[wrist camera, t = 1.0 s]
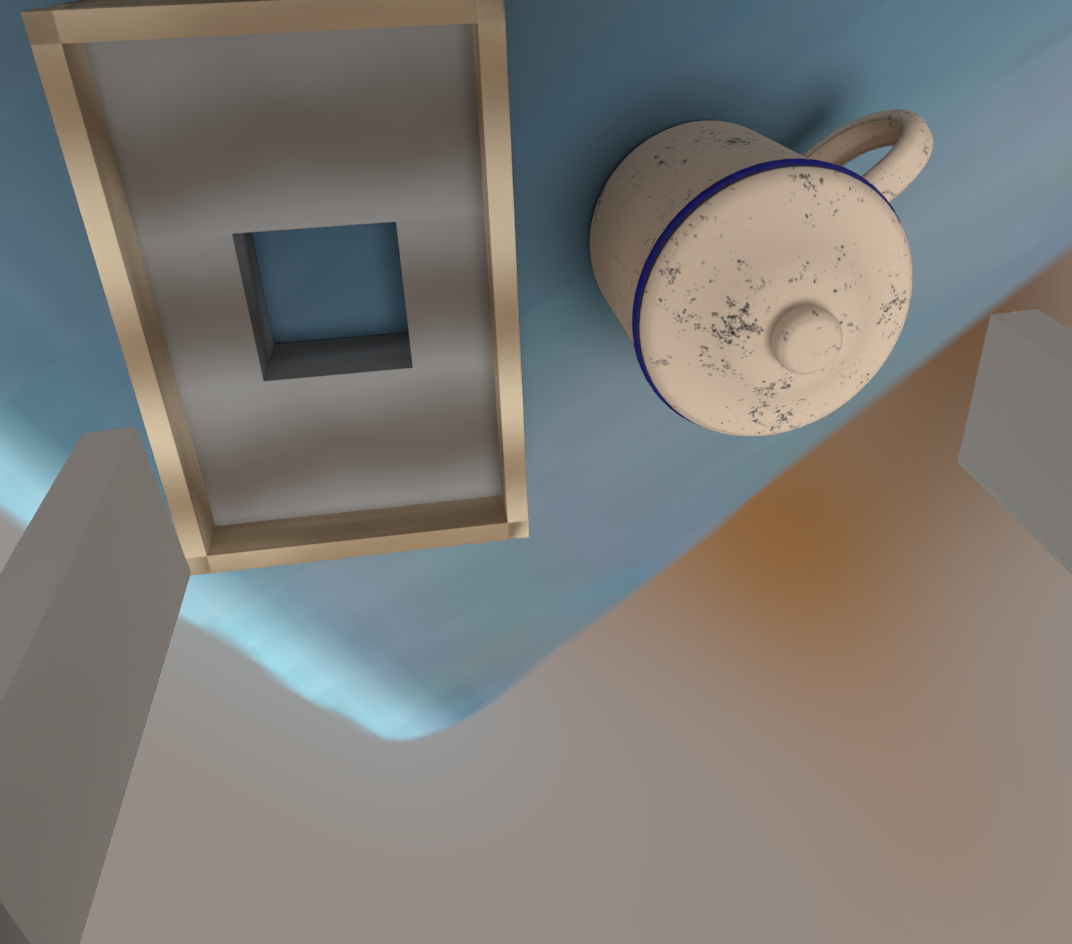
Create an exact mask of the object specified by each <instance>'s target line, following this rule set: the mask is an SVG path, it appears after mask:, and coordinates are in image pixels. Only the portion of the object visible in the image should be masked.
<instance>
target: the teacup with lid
mask: <svg viewBox="0 0 1072 944" xmlns="http://www.w3.org/2000/svg"><path fill="white" fill-rule="evenodd" d="M893 145H894V147H893V148H892V149H891V150H890V151H889V153H888V154H887V155H886V156H885V157H884V158H883V159H881V160H880V161H879V162H878V163H877V164H876V165H875V166H874V167H872V168H871V169H870V170H869V171H868V172H866V173H865V174H864V175H863V176H862V177H861V176H860V175H858V174H856V173H855V172H853V171H850V170H848V169H846V168H844V167H842V166H844V165H845V164H847V163H848V162H850V161H851V160H853V159H855V158H856V157H858V156H860V155H862V154H865V153H867V152H869V151H872V150H875V149H878V148H882V147H886V146H893ZM932 149H933V136H932V133H931V131H930V130H929V128H928V126H927V124H926V123H925V121H924V120H923V118H921V117H920V116H919V115H918V114H916V113H914V112H911V111H908V110H887V111H881V112H877V113H873V114H869V115H866V116H864V117H861V118H858V119H856V120H854V121H851V122H849V123H847V124H845V125H844V126H842V127H840V128H838V129H837V130H835V131H834V132H832V133H831V134H829V135H828V136H826V137H825V138H824V139H822V140H821V141H820V142H818V143H817V144H816V145H814V146H813V147H812V148H811V149H810V150H808V151H807V152H806V153H805V154H804V155H800V154H798V153H796V152H794V151H792V150H790V149H788V148H786V147H784V146H782V145H780V144H779V143H777V142H775V141H773V140H771V139H769V138H767V137H765V136H763V135H761V134H759V133H757V132H755V131H753V130H751V129H749V128H747V127H744V126H741V125H738V124H734V123H729V122H724V121H696V122H690V123H685V124H681V125H678V126H675V127H672V128H669V129H667V130H665V131H662V132H660V133H658V134H656V135H655V136H653V137H651V138H650V139H648V140H647V141H645V142H644V143H642V144H641V145H639V146H638V147H637V148H636V149H635V150H634V151H632V152H631V153H630V154H629V155H628V156H627V157H626V158H625V159H624V160H623V161H622V162H621V164H620V165H619V166H618V167H617V168H616V170H615V171H614V172H613V174H612V175H611V177H610V178H609V180H608V181H607V183H606V185H605V187H604V189H603V191H602V193H601V195H600V197H599V200H598V202H597V205H596V208H595V211H594V215H593V219H592V223H591V230H590V257H591V264H592V268H593V272H594V276H595V279H596V281H597V284H598V286H599V288H600V290H601V292H602V294H603V296H604V297H605V299H606V301H607V302H608V304H609V306H610V307H611V309H612V310H613V312H614V314H615V315H616V317H617V319H618V320H619V322H620V323H621V325H622V327H623V328H624V330H625V331H626V333H627V335H628V336H629V338H630V340H631V341H632V343H633V344H634V347H635V351H636V355H637V359H638V362H639V364H640V367H641V370H642V372H643V374H644V376H645V378H646V380H647V381H648V383H649V384H650V386H651V387H652V389H653V390H654V392H655V393H656V394H657V395H658V397H659V398H660V399H661V400H662V401H663V402H664V403H665V404H666V405H667V406H668V407H669V408H670V409H672V410H673V411H674V412H676V413H677V414H678V415H680V416H681V417H683V418H685V419H686V420H688V421H690V422H692V423H694V424H697V425H699V426H701V427H704V428H706V429H709V430H712V431H715V432H719V433H724V434H728V435H737V436H764V435H771V434H778V433H782V432H786V431H791V430H794V429H797V428H800V427H803V426H805V425H808V424H810V423H812V422H815V421H817V420H819V419H821V418H822V417H824V416H826V415H828V414H830V413H831V412H833V411H834V410H836V409H838V408H839V407H840V406H842V405H843V404H845V403H846V402H847V401H849V400H850V399H851V398H852V397H853V396H854V395H856V394H857V393H858V392H859V391H860V390H861V389H862V388H863V387H864V386H865V385H866V384H867V383H868V382H869V381H870V380H871V379H872V377H873V376H874V375H875V374H876V373H877V371H878V370H879V369H880V368H881V366H882V365H883V364H884V362H885V361H886V359H887V357H888V356H889V354H890V353H891V351H892V349H893V347H894V345H895V344H896V342H897V340H898V337H899V335H900V333H901V330H902V328H903V325H904V322H905V319H906V316H907V312H908V308H909V304H910V298H911V291H912V260H911V253H910V248H909V244H908V241H907V237H906V235H905V232H904V230H903V227H902V225H901V222H900V220H899V218H898V216H897V214H896V213H895V211H894V209H893V207H892V206H891V205H890V203H889V202H890V201H891V200H892V199H893V198H895V197H896V196H897V195H898V194H899V193H901V192H902V191H903V190H904V189H905V188H906V187H907V186H908V185H909V184H910V183H911V182H912V181H913V180H914V179H915V178H916V177H917V176H918V175H919V173H920V172H921V171H922V169H923V168H924V166H925V165H926V163H927V161H928V159H929V157H930V155H931V152H932Z"/></svg>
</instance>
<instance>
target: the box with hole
mask: <svg viewBox="0 0 1072 944" xmlns="http://www.w3.org/2000/svg"><path fill="white" fill-rule="evenodd" d="M21 15H22V19H23V22H24V25H25V29H26V32H27V35H28V39H29V42H30V45H31V49H32V52H33V55H34V59H35V62H36V65H37V69H38V72H39V75H40V79H41V82H42V85H43V89H44V92H45V95H46V99H47V102H48V105H49V108H50V112H51V115H52V118H53V122H54V125H55V128H56V132H57V135H58V138H59V142H60V145H61V148H62V152H63V155H64V158H65V162H66V165H67V168H68V172H69V175H70V178H71V182H72V185H73V188H74V192H75V195H76V198H77V202H78V205H79V208H80V212H81V215H82V218H83V222H84V225H85V228H86V232H87V235H88V238H89V241H90V245H91V248H92V251H93V255H94V258H95V261H96V265H97V268H98V271H99V275H100V278H101V281H102V285H103V288H104V291H105V295H106V298H107V301H108V305H109V308H110V311H111V315H112V318H113V321H114V325H115V328H116V331H117V335H118V338H119V341H120V345H121V348H122V351H123V355H124V358H125V361H126V365H127V368H128V371H129V374H130V378H131V381H132V384H133V388H134V391H135V394H136V398H137V401H138V404H139V408H140V411H141V414H142V418H143V421H144V424H145V428H146V431H147V434H148V438H149V441H150V444H151V448H152V451H153V454H154V458H155V461H156V464H157V468H158V471H159V474H160V478H161V481H162V484H163V488H164V491H165V494H166V498H167V501H168V504H169V507H170V511H171V514H172V517H173V521H174V524H175V527H176V531H177V534H178V537H179V541H180V544H181V547H182V550H183V552H184V555H185V558H186V560H187V563H188V566H189V568H190V571H191V574H190V575H198V574H207V573H216V572H225V571H234V570H243V569H251V568H260V567H269V566H278V565H287V564H296V563H305V562H313V561H322V560H331V559H340V558H349V557H358V556H367V555H375V554H384V553H393V552H402V551H411V550H420V549H429V548H437V547H446V546H455V545H464V544H473V543H482V542H491V541H499V540H508V539H517V538H526V537H529V530H528V508H527V486H526V464H525V442H524V420H523V398H522V376H521V354H520V332H519V310H518V288H517V266H516V244H515V222H514V200H513V178H512V156H511V134H510V112H509V90H508V68H507V46H506V24H505V2H504V0H80V1H75V2H69V3H64V4H59V5H54V6H49V7H44V8H38V9H33V10H28V11H23V12H21ZM385 222H396V227H397V235H398V244H399V253H400V261H401V270H402V279H403V287H404V296H405V305H406V313H407V322H408V331H409V332H407V333H396V334H384V335H373V336H361V337H349V338H338V339H326V340H315V341H303V342H291V343H280V344H274V342H273V337H272V332H271V327H270V322H269V317H268V313H267V308H266V303H265V298H264V293H263V288H262V283H261V278H260V273H259V268H258V263H257V258H256V253H255V248H254V243H253V239H252V234H251V232H261V231H275V230H288V229H302V228H316V227H330V226H343V225H357V224H371V223H385Z"/></svg>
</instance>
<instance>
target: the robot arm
mask: <svg viewBox="0 0 1072 944" xmlns="http://www.w3.org/2000/svg"><path fill="white" fill-rule="evenodd" d="M958 463H959V464H960V465H961V466H962V467H963V468H964V469H965V470H966V471H967V472H968V473H969V474H970V475H971V476H972V477H973V478H974V479H975V480H976V481H977V482H978V483H979V484H980V485H981V486H982V487H984V489H985V490H987V492H988V493H989V494H990V495H991V496H992V497H994V498H995V500H997V501H998V502H999V503H1000V504H1001V505H1002V506H1003V507H1004V508H1005V509H1006V510H1007V511H1008V512H1009V513H1010V514H1011V515H1012V516H1013V517H1014V518H1015V519H1016V520H1017V521H1018V522H1019V523H1020V524H1021V525H1022V526H1023V527H1024V528H1025V529H1026V530H1027V531H1028V532H1029V533H1030V534H1031V535H1032V536H1034V538H1035V539H1036V540H1037V541H1038V542H1039V543H1040V544H1042V546H1043V547H1044V548H1046V549H1047V550H1048V551H1049V552H1050V553H1051V554H1052V555H1053V556H1054V557H1055V558H1056V559H1057V560H1058V561H1059V562H1060V563H1061V564H1062V565H1063V566H1064V567H1065V568H1066V569H1067V570H1068V571H1069V572H1070V573H1071V574H1072V330H1070V329H1068V328H1067V327H1065V326H1063V325H1062V324H1060V323H1059V322H1057V321H1055V320H1054V319H1052V318H1051V317H1049V316H1047V315H1046V314H1044V313H1043V312H1041V311H1039V310H1038V309H1033V310H1025V311H1018V312H1010V313H1002V314H995V315H991V317H990V321H989V326H988V330H987V334H986V339H985V343H984V348H983V353H982V357H981V361H980V365H979V370H978V374H977V379H976V383H975V388H974V392H973V396H972V401H971V405H970V410H969V415H968V418H967V423H966V428H965V432H964V437H963V441H962V445H961V450H960V454H959V458H958ZM190 574H191V571H190V568H189V566H188V563H187V560H186V558H185V555H184V552H183V550H182V547H181V544H180V542H179V539H178V536H177V534H176V531H175V528H174V526H173V523H172V520H171V518H170V515H169V512H168V510H167V507H166V504H165V502H164V499H163V496H162V494H161V491H160V488H159V486H158V483H157V480H156V478H155V475H154V472H153V470H152V467H151V464H150V462H149V459H148V457H147V454H146V451H145V449H144V446H143V443H142V441H141V438H140V435H139V433H138V430H137V427H128V428H121V429H113V430H105V431H98V432H90V433H82V435H81V436H80V438H79V440H78V442H77V443H76V445H75V447H74V448H73V450H72V452H71V454H70V455H69V457H68V459H67V460H66V462H65V464H64V466H63V467H62V469H61V471H60V472H59V474H58V476H57V478H56V479H55V481H54V483H53V484H52V486H51V488H50V490H49V491H48V493H47V495H46V496H45V498H44V500H43V502H42V503H41V505H40V507H39V508H38V510H37V512H36V513H35V515H34V517H33V519H32V520H31V522H30V524H29V525H28V527H27V529H26V531H25V532H24V534H23V536H22V537H21V539H20V541H19V543H18V544H17V546H16V548H15V549H14V551H13V553H12V555H11V556H10V558H9V560H8V561H7V563H6V565H5V567H4V569H3V570H2V572H1V574H0V944H80V941H81V938H82V934H83V931H84V928H85V925H86V921H87V918H88V915H89V911H90V908H91V905H92V901H93V898H94V894H95V891H96V888H97V885H98V881H99V878H100V875H101V871H102V868H103V864H104V861H105V858H106V854H107V851H108V848H109V844H110V841H111V837H112V834H113V831H114V828H115V824H116V821H117V818H118V814H119V811H120V807H121V804H122V801H123V798H124V794H125V791H126V788H127V784H128V781H129V778H130V774H131V771H132V768H133V764H134V761H135V758H136V754H137V751H138V748H139V744H140V741H141V738H142V734H143V731H144V728H145V724H146V721H147V718H148V714H149V711H150V707H151V704H152V701H153V697H154V694H155V691H156V687H157V684H158V681H159V677H160V674H161V671H162V667H163V664H164V660H165V657H166V654H167V650H168V647H169V644H170V641H171V637H172V634H173V631H174V627H175V624H176V621H177V617H178V614H179V611H180V607H181V604H182V601H183V597H184V594H185V591H186V587H187V584H188V581H189V577H190Z"/></svg>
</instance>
